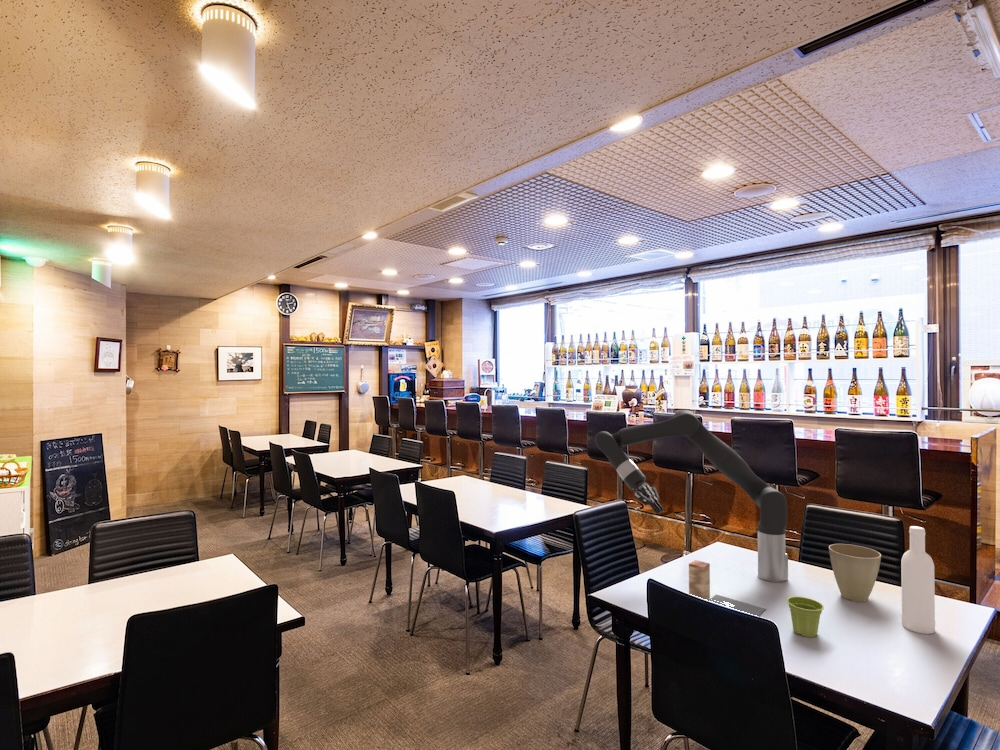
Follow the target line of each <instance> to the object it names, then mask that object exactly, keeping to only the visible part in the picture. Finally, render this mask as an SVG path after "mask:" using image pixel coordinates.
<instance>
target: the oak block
mask: <svg viewBox="0 0 1000 750" xmlns="http://www.w3.org/2000/svg"><path fill="white" fill-rule="evenodd" d="M710 567H711V565H710V563H708V562H705V561H700V560H697V559H695V560H692V561H691V562H689V563H688V595H689V594H692V595H695V596H698V597H701V598H703V599H707V600H709V598H710V599H711V590H710V589H711V585H710V584H711V581H710V580H711V577H710V572H711V571H710Z"/></svg>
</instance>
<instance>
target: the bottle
mask: <svg viewBox="0 0 1000 750" xmlns="http://www.w3.org/2000/svg"><path fill="white" fill-rule="evenodd" d="M908 533H909V549H908V550H907V551H905V552H904V553H903V555H902V557H901V560H900V561H901V564H900V568H901V571H900V573H901V574H900V575H901V577H900V578H901V579H900V580H901V583H900V584H901V586H900V587H901V614H900V615H901V625H902V627H904V628H905V629H907V630H909V631H911V632H914V633H917V634H923V635H931V634H933V633H935V631H936V616H935V615H936V607H935V606H936V604H935V603H936V601H935V600H936V599H935V594H936V593H935V592H936V591H935V587H936V586H935V563H934V561H933V559H932V557H931V555H930V554H928V553H927V552H926V529H925V528H924V527H921V526H917V525H910V526H909V530H908Z"/></svg>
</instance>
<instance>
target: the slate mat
mask: <svg viewBox="0 0 1000 750" xmlns="http://www.w3.org/2000/svg"><path fill="white" fill-rule="evenodd" d="M711 599H712V600H711ZM709 600H710V601H713V602H715V603H718V604H722V603H724V602H723V601H725V602H729V603H731V604H733V605H735V606H734V607H731V606H729V607H731V608H734V609H737V610H740V611H744V612H747V613H750V614H753V615H757V616H759V617H760V616H761V615H762V614H763V613H764V612H765V611H766V610H767V608H765V607H761V606H759V605H756V604H755V605H754V604H751V603H748V602H744V601H740V600H737V599H733V598H730V597H726V596H723V595H720V594H715V595H713V596H712V597H710V599H709ZM714 600H716V601H714ZM717 601H719V602H717ZM720 602H722V603H720ZM722 605H724V606H726V605H725V604H722ZM729 605H730V604H729Z"/></svg>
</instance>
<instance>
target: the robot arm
mask: <svg viewBox="0 0 1000 750" xmlns="http://www.w3.org/2000/svg"><path fill="white" fill-rule="evenodd" d="M674 437H675V438H676V437H686V438H688V440H690V441H691V442H692V443H693V444H694V445H696V446H697V447H698V449H699V451H701V453H702V454H703V455H704V457H706V459H707V460H708V461H709V462H710V463H711V464H712V465H713V466H714V468H716V469H717V470H718V471H720V473H721V474H723V475H724V476H725V477H726V478H727V479H729V480H730V481H731V482H733V483H734V484H736V485H737V486H739V487H740V488H741V489H742V490H743V491H745V493H746V494H747V495H748V496H749V497H750V498H751V500H752V501H753V502H754V503H755V504H756V506H758V508H759V509H760V512H759V513H760V515H759V516H760V517H759V518H760V519H759V521H758V523H757V577H759V578H760V579H762V580H764V581H767V582H772V583H773V582H774V583H781V582H785V581H789V554H788V553H786V528H787V526H788V511H789V510H788V501H787V498H786V496H785V495H784V494H783V493H782V492H780V491H779V490H777V489H776V488H774V487H773V486H771V485H769V484H768V483H767V482H765V481H764V480H763V479H761V478H760V477H759V476H757V475H756V474H755V472H754V471H753V470H752V469H751V468H750V466H749V465H748V463H747V462H746V461H745V460H744V459H743V457H741V456H740V455H739V454H738V453H737V452H736V451H735V450H734V449H733V448H732V447H730V445H728V444H727V443H725V442H724V440H723V441H722V440H721V439H720V438H718V437H717V436H716V435H715V434H713V433H712V432H711V431H709V430H708V429H707V428H706V426H705V425H704V424H703V423H702V422H701V421H700V420H699V419H698V418H697V416H696V415H695V414H694V413H693V411H690V410H687V409H681V410H678V411H676V412H675V413H674V414H673V416H672V418H669V419H666V420H664V421H663V420H662V421H658V422H653V423H642V424H637V425H636V424H635V425H632V426H627V427H623V428H620V429H619V431H617V432H614V433H610V432H608V431H605V430H603V431H599V432H597V433H596V434H595V437H594V443H595V445H596V447H597V448H598V450H600V451H601V452H602V453H603V455H605V457H606V458H607V459H608V461H609V462H610V464H611V466H612V467H613V468H614V469H615V471H616V472H617V473H618V475H619V477H620V478H621V480H622V482H624V483H625V484H626V486H627V487H628V489H629V490H631V491H633V490H634V492H635V493H634V494H633V498H635V499H637V501H639V502H640V503H642V504H643V506H649V507H650V508H652V510H653V511H654V513H655V514H656V515H658V514H660V513H662V512H664V510H665V508H664V507H663V506H662V505H661V503H660V502H659V500H660V496H659V493H658V491H657V488H656V487H655V486H650V485H649V484H648V483H647V481H646V480H647V477H646V475H645V474H644V473H643V472H642V470H641V469H640V468H639V467H638V466H637V464H636V463H635V462H634V461H633V460H632V459H631V458H630V457H629V455H627V453H626V452H625V451H624V450H623V449H622V448H624V447H627V446H632V445H638V444H640V443H646V442H649V441H653V440H658V439H659V440H660V439H664V438H665V439H666V438H674Z"/></svg>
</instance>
